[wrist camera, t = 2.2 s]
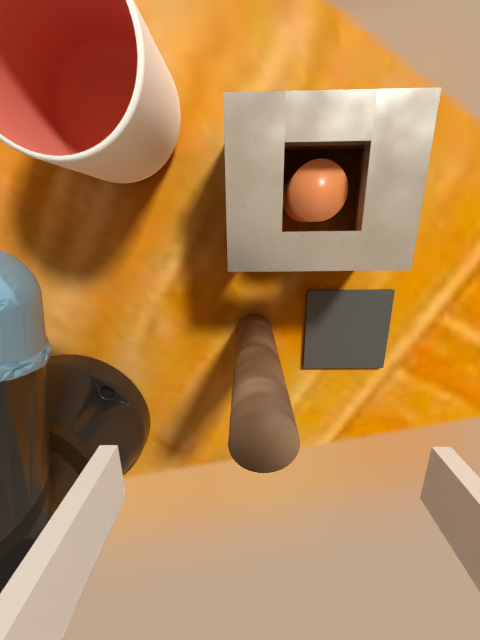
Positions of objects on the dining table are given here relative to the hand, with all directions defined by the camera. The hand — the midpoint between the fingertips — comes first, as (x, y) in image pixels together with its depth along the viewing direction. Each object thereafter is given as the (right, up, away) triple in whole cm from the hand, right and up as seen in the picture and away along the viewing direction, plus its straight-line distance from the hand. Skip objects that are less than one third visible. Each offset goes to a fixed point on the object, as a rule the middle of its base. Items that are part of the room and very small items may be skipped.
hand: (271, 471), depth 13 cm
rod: (0, +5, +17) cm, 18 cm away
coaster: (+9, +5, +16) cm, 20 cm away
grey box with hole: (+4, +17, +13) cm, 22 cm away
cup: (-11, +23, +12) cm, 28 cm away
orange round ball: (+4, +16, +11) cm, 20 cm away
